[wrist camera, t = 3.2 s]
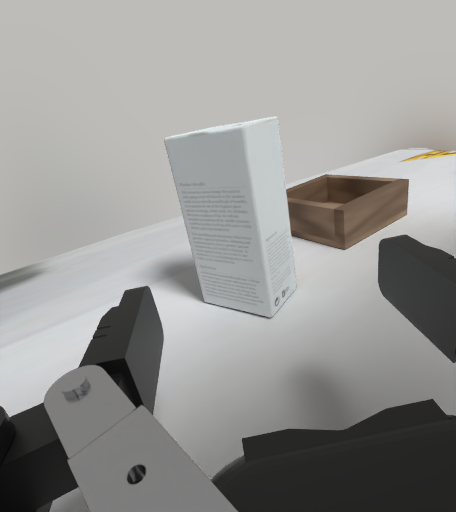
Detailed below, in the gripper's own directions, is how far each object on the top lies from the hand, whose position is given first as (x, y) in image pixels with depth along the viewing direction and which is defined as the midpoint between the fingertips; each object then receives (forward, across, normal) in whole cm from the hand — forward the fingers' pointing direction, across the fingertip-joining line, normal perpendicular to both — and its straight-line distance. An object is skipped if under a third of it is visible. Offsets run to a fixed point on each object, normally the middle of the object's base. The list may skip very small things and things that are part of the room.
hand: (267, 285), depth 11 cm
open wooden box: (+22, -11, +7) cm, 26 cm away
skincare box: (+11, 0, +7) cm, 13 cm away
